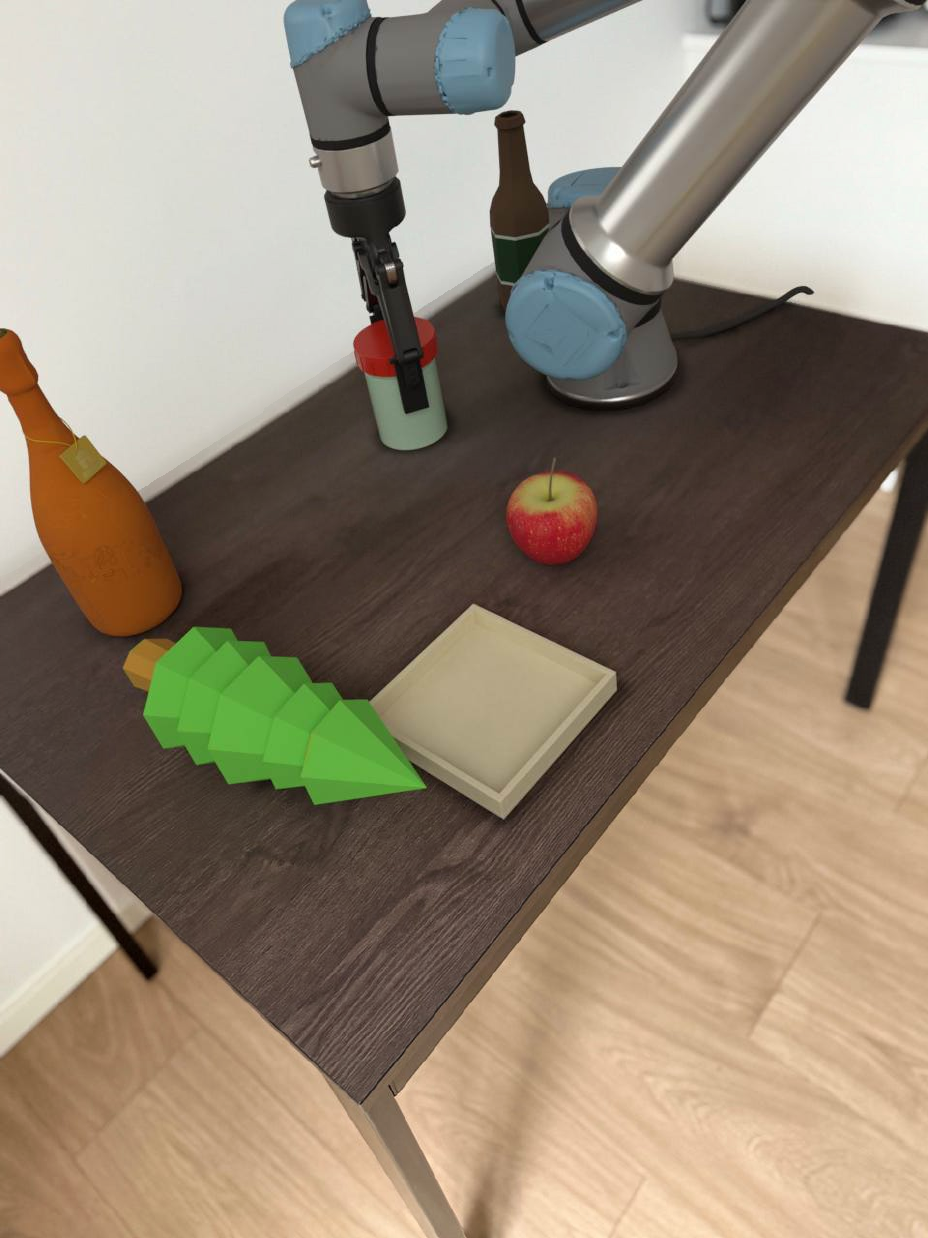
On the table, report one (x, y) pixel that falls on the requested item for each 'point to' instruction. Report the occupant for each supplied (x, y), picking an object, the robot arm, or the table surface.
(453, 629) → the tray
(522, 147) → the beer bottle
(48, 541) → the wine bottle
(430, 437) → the jar
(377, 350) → the lid
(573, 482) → the apple
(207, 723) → the decorative tree
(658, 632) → the table surface
